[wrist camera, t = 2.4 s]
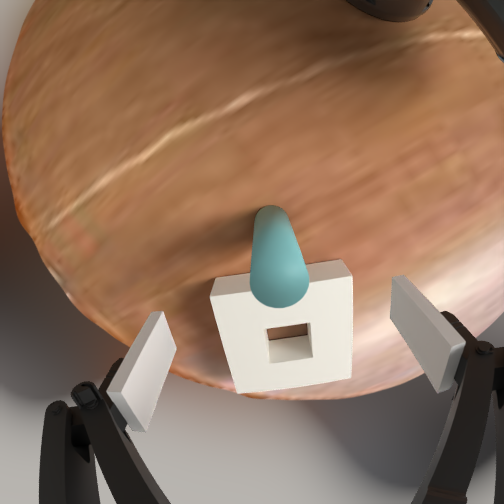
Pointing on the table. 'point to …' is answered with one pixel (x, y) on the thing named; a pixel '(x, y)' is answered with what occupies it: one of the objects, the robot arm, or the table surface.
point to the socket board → (304, 311)
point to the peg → (276, 260)
